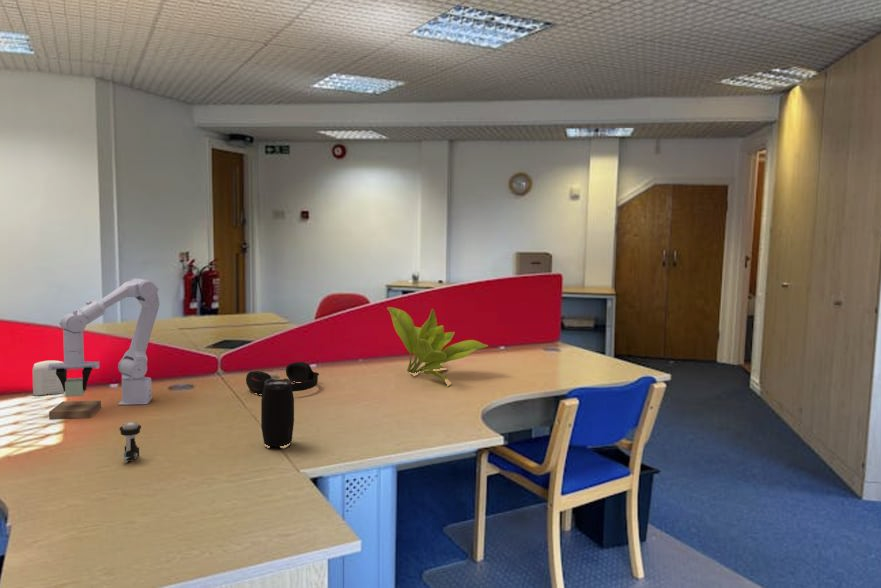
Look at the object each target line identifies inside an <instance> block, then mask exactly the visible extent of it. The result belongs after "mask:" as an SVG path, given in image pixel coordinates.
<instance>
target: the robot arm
mask: <svg viewBox="0 0 881 588" xmlns="http://www.w3.org/2000/svg"><path fill="white" fill-rule="evenodd" d="M158 292H159V288H158V286H157V285H156V284H155V282H154V281H152V280H151V279H143V278H139V277H134V278H131V279H129V281H125V282H124V283H123V284H122V285H120V286H119V287H117V288H116V289H114V290H112V292H110V293H108V294H107V295H106V296H105V295H104V297H102V298H101V299H99V300H93V299H92V300H87V301H86V302H85V304H84V305H83V306H81V307H80V308H78V309H77V308H76V309H74V310H73V311H72V313H67V314H65V315H64V316H62V318H61V320H60V322H59V326H60V328H61V329H62V333H63V336H62V337H63V338H62V339H63V361H62V362H63V363H53V364H49V371H52V370H56V375H57V376H58V378H59V380H60V381H61V384H62V386H63V390H64V392H65V381H66V380H67V379H68V378H67V377H68V376H67V375H68V374H67V373H68V370H81V369H82V370H81V374H82V378H83V391H85V392H86V391H87V384H88V381H89V378H90V375H91V373H92V371H93V369H97V370H98V369H99V368H100V361H85V354H84V353H85V350H84V349H85V348H84V330H85V328H86V327H87V325H89V324H90V323H92V322H94V321H95V320H97V319H99V318H100V317H102V316H103V315H104V314H105V313H106V309H108V308H110V307H112V306H113V305H115V304H116V303H119V302H121V301H122V300H124V299H126V298H135V299H136V300H137V301H138V303H139V304H140V305H141V308H140V313H139V316H138V319H137V322H136V323H137V324H136V326H135V330H134V332H133V335H132V339H131V343H130V345H129V349H128V350H126V352H125V353H124V355H123V357H122V358H121V359H120V361H119V362H118V366H117V368H118V371H119V372H120V373H121V397H122V398H121V399H122V400H121V401H119V403H118V405H119V406H122V405H123V406H124V405H125V406H127V405H129V406H130V405H148V404H149V403H150V401H152V399H153V392H152V391H153V388H152V387H153V386H152V385H153V382H152V378H151V377H150V376H149V377H148V376H146V374H147V371H148V361H149V360H148V355H147V353H146V352H147V348H148V345H149V342H150V338H151V335H152V333H153V332H152V331H153V329H154V324H155V322H156V318H157V315H158V311H159V308H160V299H159V293H158Z"/></svg>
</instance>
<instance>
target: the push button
mask: <svg viewBox="0 0 881 588" xmlns="http://www.w3.org/2000/svg"><path fill="white" fill-rule="evenodd" d="M141 429H142V425H140V424H138V422H137V421H128V422H124V423H123V425H121V426H120V427H119V431H120V435H121V436H123V437H125V446H124V452H123V463H124V464H126V463H129V462H128V461H131V460H133V459H134V458H135V459H134V460H137V459H138V458H139V457H140V447H138V445H137V444H136V436H137V435H138V434H140V433H141ZM138 456H139V457H138ZM136 458H137V459H136ZM134 460H133V461H134Z"/></svg>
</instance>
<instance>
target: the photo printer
mask: <svg viewBox="0 0 881 588" xmlns="http://www.w3.org/2000/svg"><path fill="white" fill-rule="evenodd" d="M63 362H64V361H62V360H61V361H60V360H52V359H51V360H50V359H49V360H43V361H38V362H35V363H34V364H33V367H32V394H33V395H32V396H35V397H37V396H46V395H47V394H48V395H57V394H58V393H59V394H65V393H64V390H63V386H62V384H61V381H60V380H59V378H58V376H57V375H56V370H52V371H49V364H53V363H63ZM48 395H47V396H48Z"/></svg>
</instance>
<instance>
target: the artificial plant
mask: <svg viewBox="0 0 881 588" xmlns="http://www.w3.org/2000/svg"><path fill="white" fill-rule="evenodd" d="M386 309H387V311H389V313H390V316H391V320H392V324H393V328H394V330H395V332H396V334H397V336H398V337H399V338H400V340H401V341H402V343H403V345H404V347H405V348H406V350H407V352H408V353H409V363H408V367H407V373H409V372H411V373H415V372H416V373H417V372H419V371H421V372H420V373H418V375H417V376H419V375H424V374H427V375H434V376H436V377H438V378H440V379H441V380H442V381H443V382H445V379H448V378H447V377H445V375H443V374H441V373H440V372H439V371H433V369H440V368H444V367H445V366H444V365H442V364H445V363H448V362H451V361H455V360H456V361H457V360H459V359H463V358H465V357H467V356H470V354H472V353H473V352H475V351H477V350H481V349H485V348H487V347H489V345H488V344H485V343H482V342H480V341H478V340H475V339H467V340H463V341H459V342H456V343H453V344H451V345H448V346H447V344H449V343H450V342H451V341H452V339H453V337H454V335H455V334H456V333H455V331H448V332H445V329H444V325H439V326H438V322H437V321H438V320H437V316H436V312H435V310H434V308H432V309H431V311H430V314H429V316H428V319H426V321H425V322H424V324H422V326H421V327H418V326H415V324H414V320H413V318H412V317H411V316H410V315H409V314H408V313H407V312H406V311H405V310H402V309H399V308H396V307H390V306H387V307H386ZM445 346H447V347H445ZM443 348H444V349H443ZM412 355H414V358H413V359H412ZM423 363H424V365H423V366H421V364H423ZM440 364H441V365H442V366H441V365H440ZM420 366H421V367H420ZM443 366H444V367H443Z"/></svg>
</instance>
